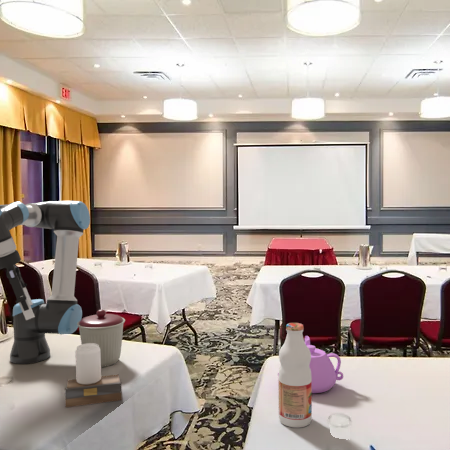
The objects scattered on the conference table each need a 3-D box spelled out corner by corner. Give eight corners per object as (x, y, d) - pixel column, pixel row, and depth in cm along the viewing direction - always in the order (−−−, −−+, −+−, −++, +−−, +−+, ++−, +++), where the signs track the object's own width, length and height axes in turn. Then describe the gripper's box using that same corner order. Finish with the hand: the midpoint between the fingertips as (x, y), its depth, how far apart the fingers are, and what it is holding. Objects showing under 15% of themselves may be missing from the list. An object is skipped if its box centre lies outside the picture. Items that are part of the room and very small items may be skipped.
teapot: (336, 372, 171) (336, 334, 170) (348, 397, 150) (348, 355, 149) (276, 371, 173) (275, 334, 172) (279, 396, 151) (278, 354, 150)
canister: (88, 354, 193) (87, 304, 192) (131, 355, 192) (130, 304, 191) (70, 370, 176) (68, 315, 174) (117, 371, 174) (116, 315, 173)
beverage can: (94, 386, 154) (93, 350, 153) (71, 385, 156) (70, 349, 155) (105, 377, 162) (104, 343, 161) (83, 375, 164) (82, 342, 163)
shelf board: (67, 387, 160) (67, 371, 160) (118, 381, 165) (118, 365, 165) (65, 407, 145) (64, 390, 144) (121, 400, 149) (121, 383, 149)
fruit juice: (272, 416, 137) (272, 322, 136) (300, 410, 141) (300, 319, 139) (288, 431, 129) (288, 331, 127) (318, 424, 132) (318, 327, 130)
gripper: (-7, 250, 160) (17, 305, 165) (-9, 266, 137) (18, 329, 143) (16, 242, 162) (38, 296, 168) (17, 256, 140) (43, 319, 145)
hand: (29, 311), depth 155 cm, fingers open, 13 cm apart
